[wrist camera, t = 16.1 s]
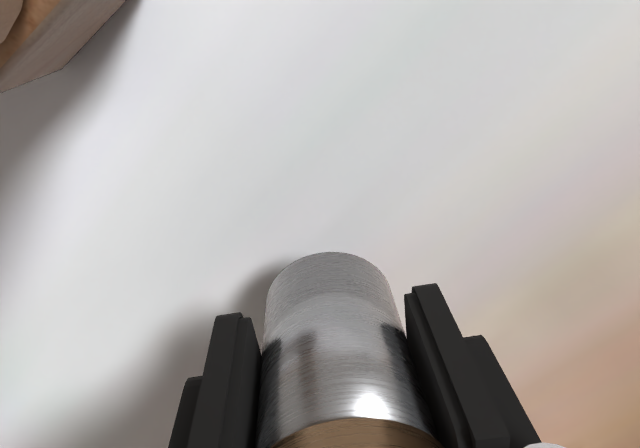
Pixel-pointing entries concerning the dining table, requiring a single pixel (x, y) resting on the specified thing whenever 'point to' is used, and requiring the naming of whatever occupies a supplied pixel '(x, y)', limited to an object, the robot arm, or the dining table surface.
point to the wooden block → (46, 35)
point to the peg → (338, 362)
